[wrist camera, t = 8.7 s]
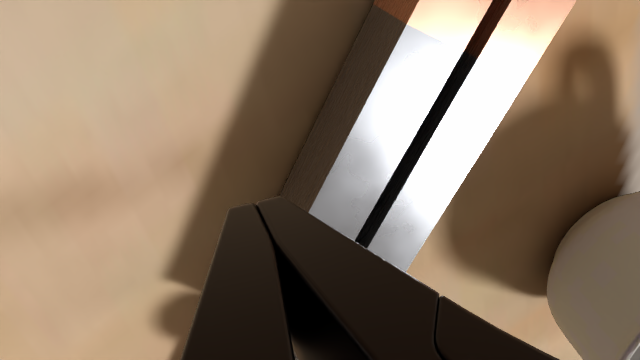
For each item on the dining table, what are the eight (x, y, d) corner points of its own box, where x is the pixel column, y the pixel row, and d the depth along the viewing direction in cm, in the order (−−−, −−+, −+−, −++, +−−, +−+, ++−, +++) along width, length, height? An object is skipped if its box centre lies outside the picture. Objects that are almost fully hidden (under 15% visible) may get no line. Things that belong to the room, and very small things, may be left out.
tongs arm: (274, 310, 24) (289, 354, 22) (225, 305, 23) (236, 350, 21) (468, -52, 18) (515, -39, 16) (416, -84, 17) (458, -75, 15)
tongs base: (281, 393, 28) (302, 463, 25) (186, 390, 26) (196, 467, 22) (520, -18, 20) (598, 7, 17) (413, -83, 17) (480, -67, 14)
